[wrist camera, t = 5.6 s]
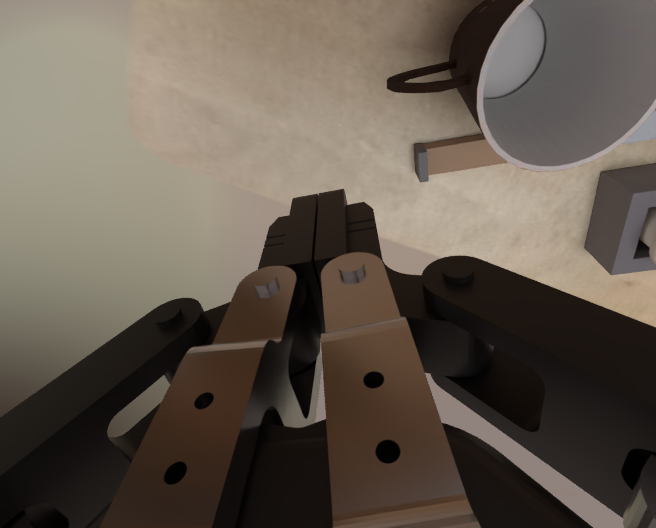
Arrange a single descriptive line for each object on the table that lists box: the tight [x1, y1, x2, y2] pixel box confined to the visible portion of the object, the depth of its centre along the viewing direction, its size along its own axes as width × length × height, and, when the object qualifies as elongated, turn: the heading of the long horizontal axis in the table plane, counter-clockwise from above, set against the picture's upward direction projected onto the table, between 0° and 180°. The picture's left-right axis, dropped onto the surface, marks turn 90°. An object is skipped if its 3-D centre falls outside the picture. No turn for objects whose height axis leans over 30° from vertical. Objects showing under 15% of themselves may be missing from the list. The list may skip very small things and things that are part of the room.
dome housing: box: [585, 163, 656, 275], centre depth 30 cm, size 7×7×4 cm
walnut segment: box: [414, 134, 508, 182], centre depth 29 cm, size 2×10×2 cm, turn 100°
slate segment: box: [622, 109, 656, 144], centre depth 28 cm, size 2×10×2 cm, turn 100°
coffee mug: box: [387, 0, 656, 172], centre depth 22 cm, size 12×9×10 cm
